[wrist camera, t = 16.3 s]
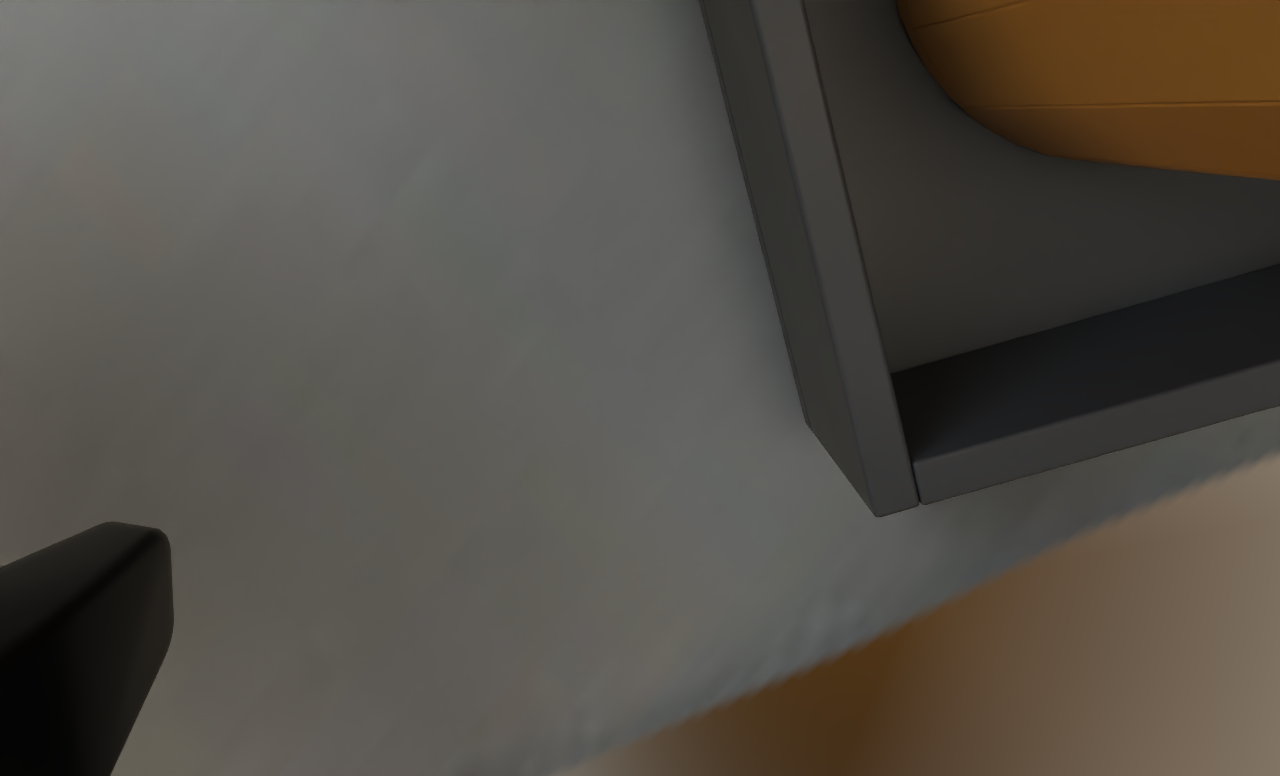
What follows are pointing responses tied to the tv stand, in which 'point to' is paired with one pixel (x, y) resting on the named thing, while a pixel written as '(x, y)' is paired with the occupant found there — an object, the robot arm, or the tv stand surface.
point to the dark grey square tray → (980, 267)
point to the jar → (1114, 77)
